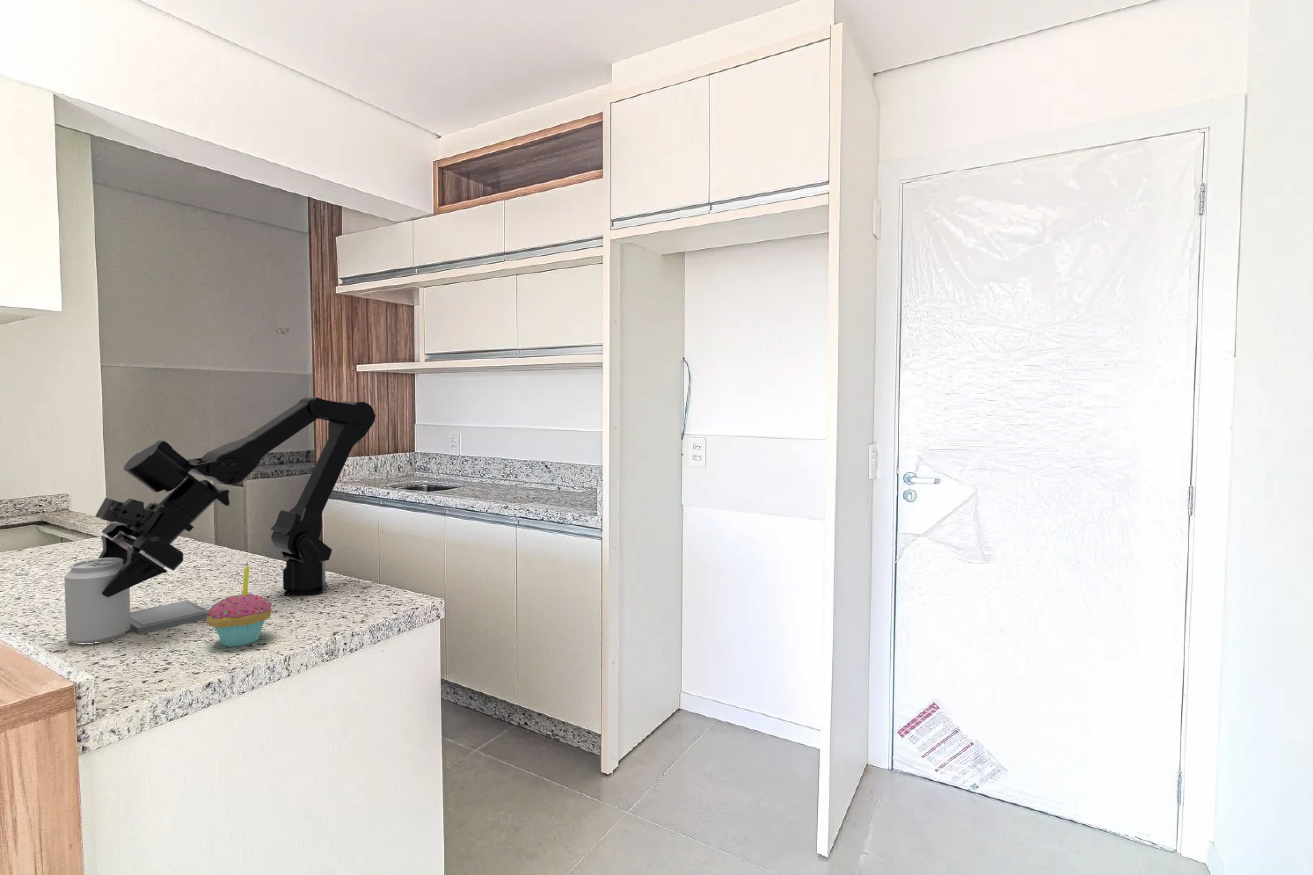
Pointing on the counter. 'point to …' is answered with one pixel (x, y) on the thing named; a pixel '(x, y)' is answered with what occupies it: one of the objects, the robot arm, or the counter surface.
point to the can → (95, 602)
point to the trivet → (166, 616)
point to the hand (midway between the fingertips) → (94, 589)
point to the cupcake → (239, 616)
